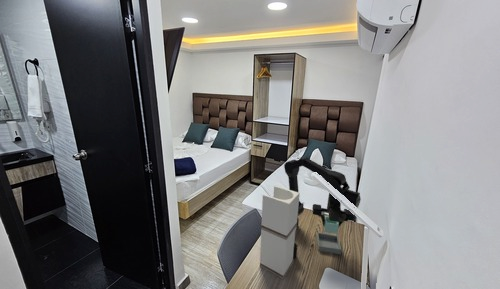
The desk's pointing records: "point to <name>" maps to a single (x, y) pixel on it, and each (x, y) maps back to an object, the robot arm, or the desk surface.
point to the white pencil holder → (278, 230)
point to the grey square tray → (328, 243)
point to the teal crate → (331, 226)
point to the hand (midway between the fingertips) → (330, 227)
